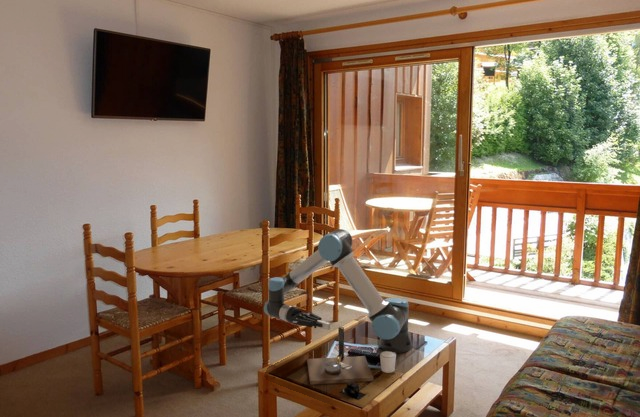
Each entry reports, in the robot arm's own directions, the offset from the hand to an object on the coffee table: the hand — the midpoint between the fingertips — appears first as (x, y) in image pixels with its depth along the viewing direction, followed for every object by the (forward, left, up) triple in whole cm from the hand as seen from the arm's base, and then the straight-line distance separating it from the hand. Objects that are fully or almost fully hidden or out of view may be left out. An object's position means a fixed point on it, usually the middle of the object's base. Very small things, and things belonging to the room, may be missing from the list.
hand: (329, 326), depth 218 cm
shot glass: (-24, +14, -15) cm, 31 cm away
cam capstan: (-2, +11, -13) cm, 17 cm away
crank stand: (-3, +13, -15) cm, 20 cm away
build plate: (-6, +32, -16) cm, 36 cm away
